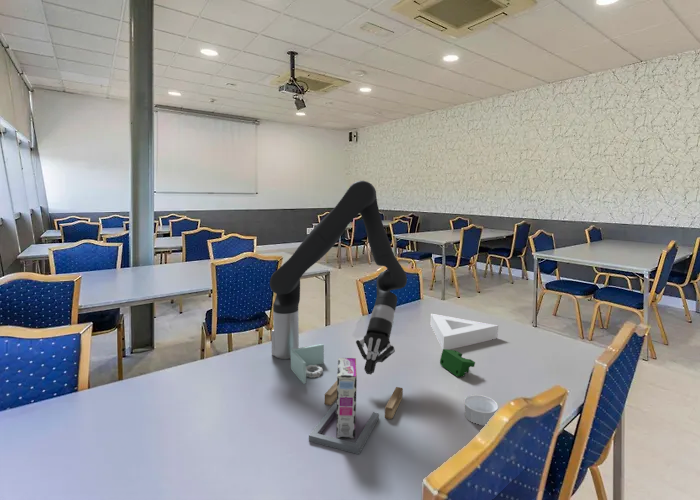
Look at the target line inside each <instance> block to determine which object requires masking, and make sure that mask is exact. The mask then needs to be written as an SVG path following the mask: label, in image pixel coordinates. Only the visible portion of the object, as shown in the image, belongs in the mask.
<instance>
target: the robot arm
mask: <svg viewBox="0 0 700 500" xmlns="http://www.w3.org/2000/svg"><path fill="white" fill-rule="evenodd" d="M358 215H360V216H361V218H362V221H363V224H364V227H365V231H366V237H367V241H368V244H369V245H368V246H369V248H370V251H371V255H372V257H373V260H374V262H375V264H376V266H380V267H384V268H386V269H387V270H384V271H381V272H380V273H378V276H377V277H376V299H375V302H374V307H373V309H372V311H371V315H370V319H369V322H368V326H367V329H366V334H365V335H364V336H363V339H361V340H357V339H356V341H355V344H356V346H357V348H358V350H359V352H360V354H361V355H360V356H361V357H362V359H363V360H365V365H364V369H363V370H364V372H365V374H367V375H372V374H374V372H375V369H376V365H377V363H383V362H385V361H386V360H387V359H388V358H389V357H390V356H391V355H393V354H394V353H395V352H396V349H395V346H393V345H392V344H391V340H390V338H391V334H392V329H393V325H394V320H395V312H396V309H397V304H398V297H397V295H396V293H393V292H392V291H395V290H400V289H404V288H405V287H406V285H407V284H408V283H407V282H408V276H407V273H406V271H405V270H404V268H403V266H402V265H401V263H400V262H399V261H398V259H397V257H396V256H395V254H394V251H393V249H392V246H391V243H390V240H389V237H388V234H387V232H386V229H385V226H384V224H383V220H382V218H381V214H380V210H379V205H378V199H377V190H376V188H375V187H374V185H373V184H372V183H370V182H368V181H367V180H366V181H365V180H357V181H355V182H353V183H352V184H351V185H349V188H348V189H346V192H345V193H344V195H343V196H342V197H341V198H340V200H339V202H338V203H337V204H336V205H335V207H334V208H333V209H331V211H330V212H328V213H327V214H326V215H325V216H324V217H322V219H321V220H320V222H318V223H317V224H316V225H315V227H314V228H313V229H312V230H311V231H310V232H309V233H308V234H307V236H306V237H305V238H304V239H303V241H302V242H301V243H300V245H299V246H298V247H297V248H296V250H295V251H294V252H293V254H292V255H291V256H290V257H289V258H288V259H287V260H286V261H285V262H284V263H283V264H282V265H281V266H280V267H279V268H277V270H275V271H274V272H273V273H272V274H271V275H270V276H271V277H270V278H269V287H270V290H271V291H272V292H273V293H274V294H276V295H275V298H274V301H273V305H272V308H273V310H272V313H273V315H272V316H273V318H272V319H273V329H272V330H271V335H270V337H271V356H274V357H275V358H277V359H280V360H289V359H290V360H291V350H292V349H297V348H300V346H299V344H300V340H299V339H300V337H299V336H300V335H299V333H300V332H299V331H300V328H299V326H300V325H299V321H300V320H299V305H300V300H301V278H302V276H303V275H305V273H306V271H308V269H310V268H311V267H313V265H315V264H316V263H317V262H319V261H320V260H321V259H322V258H323V257H324V256H325V255H326V254H328V252H329V251H330V250H331V249H332V248H333V247H334V246H335V245H336V244H337V242H338V241H339V239H340V238H341V237H342V236H343V234H344V233H345V231H346V229H347V228H348V226H349V224H350V223H351V222H352V221H353V220H354V219H355V218H356V217H357V216H358ZM365 346H366V348H367V350H366V351H367V354H366V352H365V349H364V347H365Z"/></svg>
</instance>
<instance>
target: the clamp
mask: <svg viewBox="0 0 700 500" xmlns="http://www.w3.org/2000/svg"><path fill="white" fill-rule="evenodd" d="M462 356H463V354H462V353H461V352H459V351H458V350H454V349H450V350H447V349H442V353H441V355H440V360H439V363H440V366H441V367H443V369H446V370H447V371H449V372H450V373H451V374H453V375H454V376H455V377H461V378H462V377H464V376H465V374H466V373H469V371H470V368H475V365H476V361H474V360H472V359H470V358H469V359H468V358H465V357H462Z"/></svg>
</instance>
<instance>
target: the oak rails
mask: <svg viewBox="0 0 700 500" xmlns="http://www.w3.org/2000/svg"><path fill="white" fill-rule="evenodd" d="M403 392H404V390H403V387H398V386H396V387H395V388H394V391H392V394H391V396H390V397H389V400H388V401H387V403H386V405H385V407H384V418H385V419H389V420H393V418H394V416H395V414H396V412H397V410H398V408H399V406H400V403H402V399H403V396H404V395H403V394H404V393H403ZM335 401H337V380H335V382H334V383H333V384H332V386H330V387H329V389H328V390H327V391H326V392H325V393H324V405H328V406H333V405H334V403H335Z"/></svg>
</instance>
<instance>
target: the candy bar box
mask: <svg viewBox="0 0 700 500" xmlns="http://www.w3.org/2000/svg"><path fill="white" fill-rule="evenodd" d="M356 359H357V358H354V357H338V359H337V360H338V361H337V362H338V363H337V373H336V375H337V377H336V381H337V399H336V404H337V413H336V436H335V438H337V439H348V440H349V439H350V440H351V439H353V440H354V439H355V438H356V422H357V421H356V420H357V419H356V418H357V416H356V415H357V391H358V390H357V387H358V386H357V385H358V383H357V381H358V380H357V360H356Z"/></svg>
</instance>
